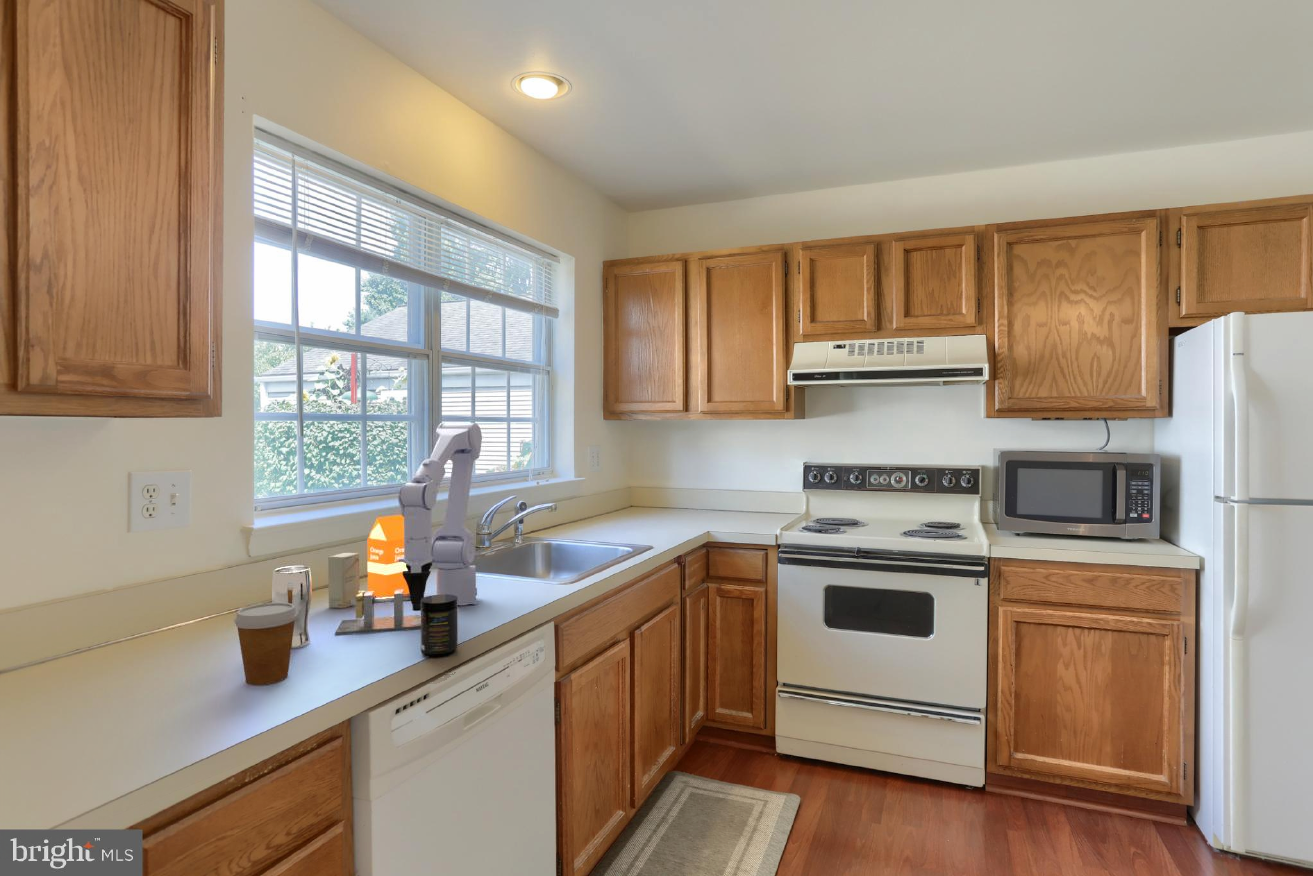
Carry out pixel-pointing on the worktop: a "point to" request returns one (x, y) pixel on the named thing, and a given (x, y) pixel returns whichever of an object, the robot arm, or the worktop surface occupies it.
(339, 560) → the skincare box
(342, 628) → the bracket
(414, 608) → the shaft
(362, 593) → the block
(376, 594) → the orange juice
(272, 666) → the disposable coffee cup
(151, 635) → the worktop surface
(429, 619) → the supplement container
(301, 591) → the beer glass
